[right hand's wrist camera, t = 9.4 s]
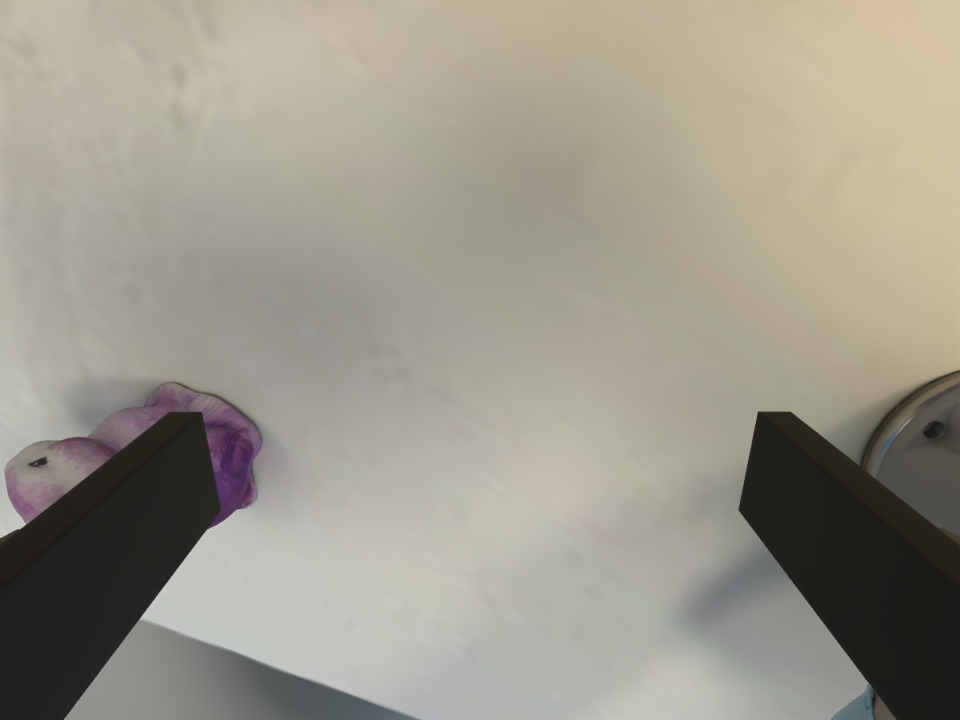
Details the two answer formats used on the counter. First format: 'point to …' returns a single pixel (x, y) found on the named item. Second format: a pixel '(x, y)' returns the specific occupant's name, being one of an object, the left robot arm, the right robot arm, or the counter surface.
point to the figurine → (66, 463)
